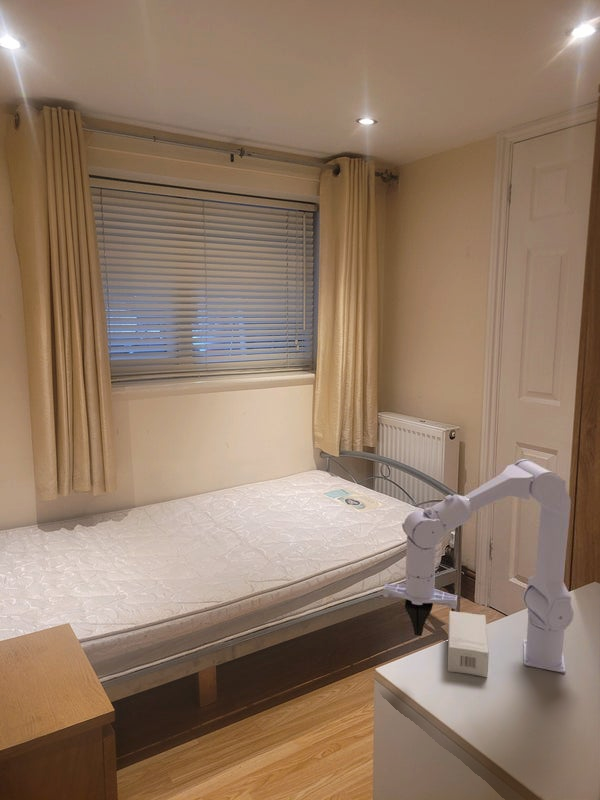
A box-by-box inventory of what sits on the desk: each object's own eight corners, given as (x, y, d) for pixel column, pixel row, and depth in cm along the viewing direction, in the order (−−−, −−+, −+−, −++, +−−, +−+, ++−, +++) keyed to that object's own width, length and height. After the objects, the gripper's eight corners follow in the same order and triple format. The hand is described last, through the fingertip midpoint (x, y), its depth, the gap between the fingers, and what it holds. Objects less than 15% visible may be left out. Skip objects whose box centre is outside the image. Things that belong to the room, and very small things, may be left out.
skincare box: (487, 678, 119) (486, 638, 133) (489, 651, 118) (487, 614, 132) (445, 671, 121) (448, 632, 135) (446, 645, 120) (449, 608, 134)
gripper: (380, 575, 115) (379, 637, 118) (455, 586, 110) (453, 651, 113) (387, 559, 122) (386, 618, 124) (459, 570, 117) (456, 631, 119)
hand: (418, 633), depth 119 cm, fingers closed
